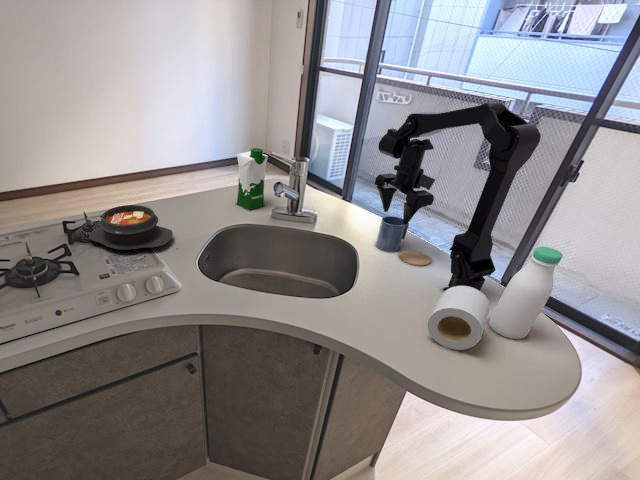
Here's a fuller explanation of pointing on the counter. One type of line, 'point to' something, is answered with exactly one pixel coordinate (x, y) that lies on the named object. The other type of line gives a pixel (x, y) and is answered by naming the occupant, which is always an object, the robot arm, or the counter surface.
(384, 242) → the blue ceramic cup
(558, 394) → the counter surface
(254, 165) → the milk carton
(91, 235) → the casserole
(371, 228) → the counter surface
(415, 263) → the coaster
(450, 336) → the toilet paper
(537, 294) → the milk bottle
